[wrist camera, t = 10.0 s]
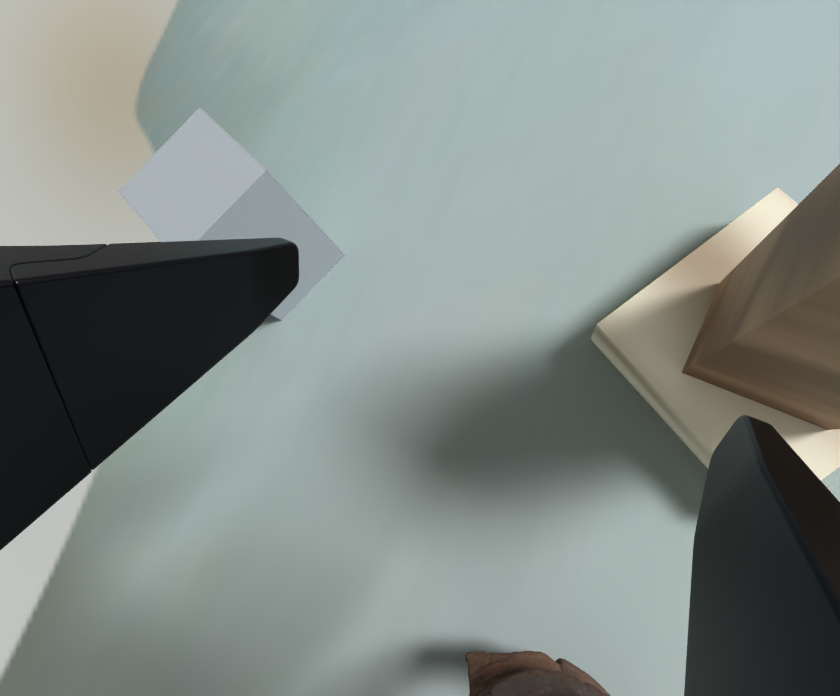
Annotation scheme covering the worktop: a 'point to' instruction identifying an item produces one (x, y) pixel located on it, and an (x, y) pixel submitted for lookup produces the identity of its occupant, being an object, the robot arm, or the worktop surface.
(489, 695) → the pottery mug
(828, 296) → the walnut block
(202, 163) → the grey block
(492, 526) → the worktop surface
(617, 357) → the birch block
